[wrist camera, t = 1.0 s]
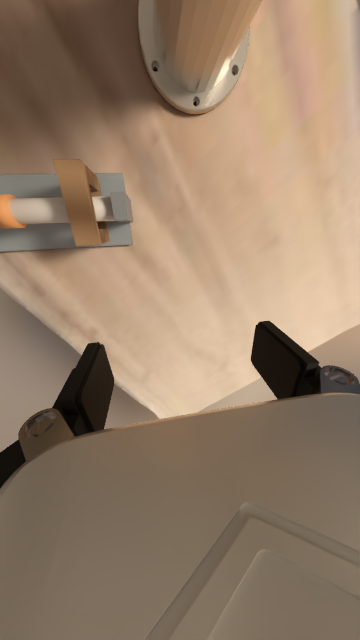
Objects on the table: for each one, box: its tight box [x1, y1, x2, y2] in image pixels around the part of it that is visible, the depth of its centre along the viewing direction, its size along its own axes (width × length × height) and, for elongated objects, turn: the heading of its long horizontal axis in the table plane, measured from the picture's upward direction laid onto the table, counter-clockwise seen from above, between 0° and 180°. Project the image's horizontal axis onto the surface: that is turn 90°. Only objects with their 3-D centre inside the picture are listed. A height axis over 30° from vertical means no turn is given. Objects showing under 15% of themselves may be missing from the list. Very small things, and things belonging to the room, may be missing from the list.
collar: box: [53, 159, 110, 246], centre depth 23 cm, size 8×2×7 cm, turn 2°
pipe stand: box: [0, 173, 133, 252], centre depth 24 cm, size 9×21×8 cm, turn 92°
